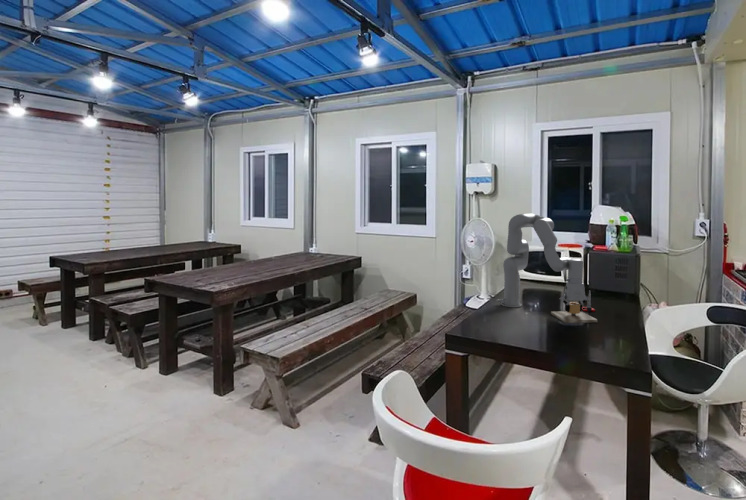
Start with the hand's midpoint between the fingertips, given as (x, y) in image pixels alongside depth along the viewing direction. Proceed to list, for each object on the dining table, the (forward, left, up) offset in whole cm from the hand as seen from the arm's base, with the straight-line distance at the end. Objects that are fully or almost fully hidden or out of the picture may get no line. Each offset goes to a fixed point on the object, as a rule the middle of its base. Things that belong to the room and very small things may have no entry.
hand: (573, 311), depth 243 cm
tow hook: (+17, +17, -4) cm, 24 cm away
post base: (0, 0, -4) cm, 4 cm away
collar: (0, 0, -1) cm, 1 cm away
